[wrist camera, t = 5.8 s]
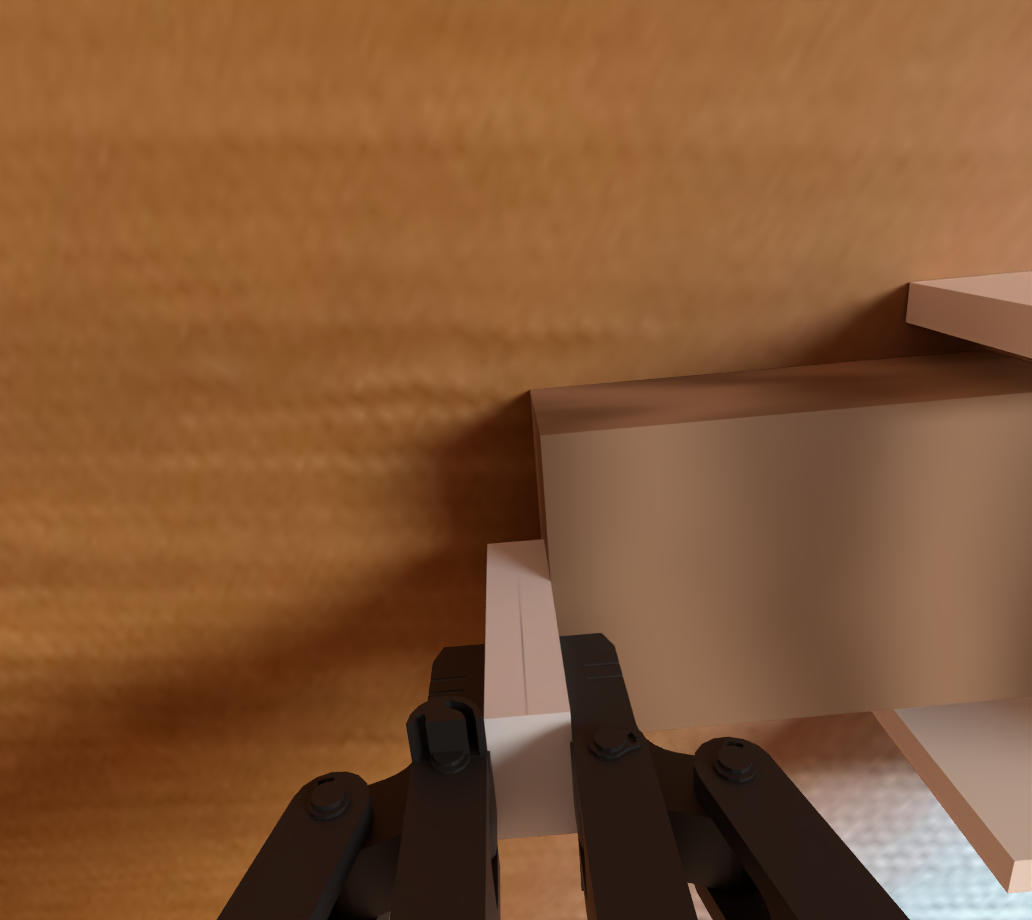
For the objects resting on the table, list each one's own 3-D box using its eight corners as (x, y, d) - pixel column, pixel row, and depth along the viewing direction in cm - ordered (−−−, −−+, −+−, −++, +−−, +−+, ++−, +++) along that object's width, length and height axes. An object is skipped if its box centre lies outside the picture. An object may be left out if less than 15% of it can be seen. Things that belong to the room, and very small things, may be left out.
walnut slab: (549, 644, 21) (562, 739, 17) (529, 388, 18) (540, 435, 15) (942, 609, 21) (1039, 695, 18) (981, 348, 19) (1106, 385, 15)
